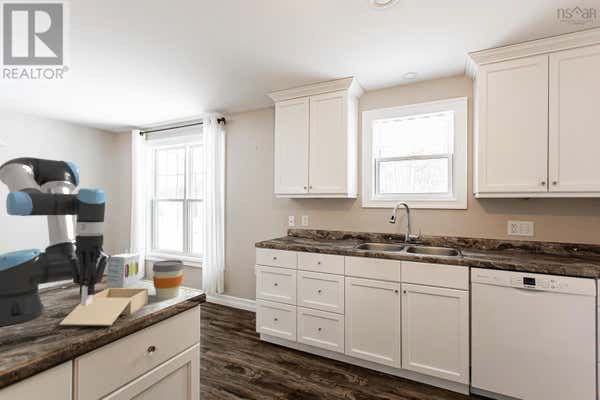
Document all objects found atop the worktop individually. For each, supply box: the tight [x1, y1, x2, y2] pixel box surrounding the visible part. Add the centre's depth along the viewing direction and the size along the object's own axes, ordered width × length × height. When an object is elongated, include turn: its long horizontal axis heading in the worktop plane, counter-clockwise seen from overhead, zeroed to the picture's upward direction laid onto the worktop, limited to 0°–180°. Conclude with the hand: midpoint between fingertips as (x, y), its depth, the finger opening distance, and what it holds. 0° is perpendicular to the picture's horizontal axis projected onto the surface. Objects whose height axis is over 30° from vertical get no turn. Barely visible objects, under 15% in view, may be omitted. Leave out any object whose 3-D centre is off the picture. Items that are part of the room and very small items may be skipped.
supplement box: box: [105, 252, 140, 290], centre depth 129 cm, size 10×9×17 cm
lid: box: [59, 298, 131, 326], centre depth 95 cm, size 16×12×1 cm
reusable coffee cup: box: [152, 259, 184, 301], centre depth 123 cm, size 13×13×15 cm
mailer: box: [92, 288, 149, 316], centre depth 107 cm, size 16×12×6 cm
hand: (86, 304), depth 92 cm, fingers closed
